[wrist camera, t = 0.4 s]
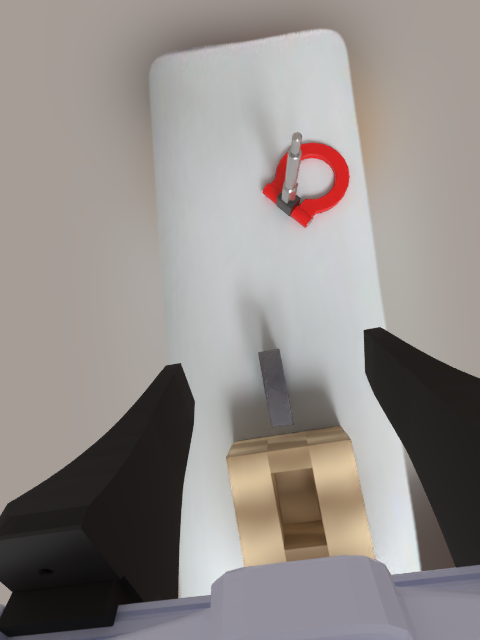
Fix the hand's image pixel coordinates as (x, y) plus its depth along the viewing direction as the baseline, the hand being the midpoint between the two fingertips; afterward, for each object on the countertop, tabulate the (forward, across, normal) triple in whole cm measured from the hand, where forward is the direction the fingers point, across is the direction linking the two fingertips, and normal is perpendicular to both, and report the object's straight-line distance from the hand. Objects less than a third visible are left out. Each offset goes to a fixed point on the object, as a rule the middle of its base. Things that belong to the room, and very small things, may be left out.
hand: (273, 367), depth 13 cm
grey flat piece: (+19, 0, +17) cm, 25 cm away
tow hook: (+32, -8, -1) cm, 33 cm away
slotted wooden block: (+13, 0, +26) cm, 29 cm away
